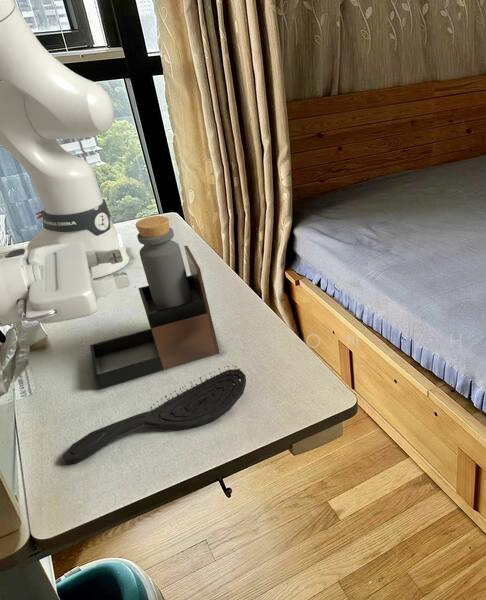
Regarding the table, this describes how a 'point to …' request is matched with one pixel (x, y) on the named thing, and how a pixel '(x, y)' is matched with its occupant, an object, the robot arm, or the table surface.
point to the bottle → (163, 263)
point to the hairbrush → (185, 408)
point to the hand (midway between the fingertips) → (124, 266)
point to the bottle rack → (164, 335)
